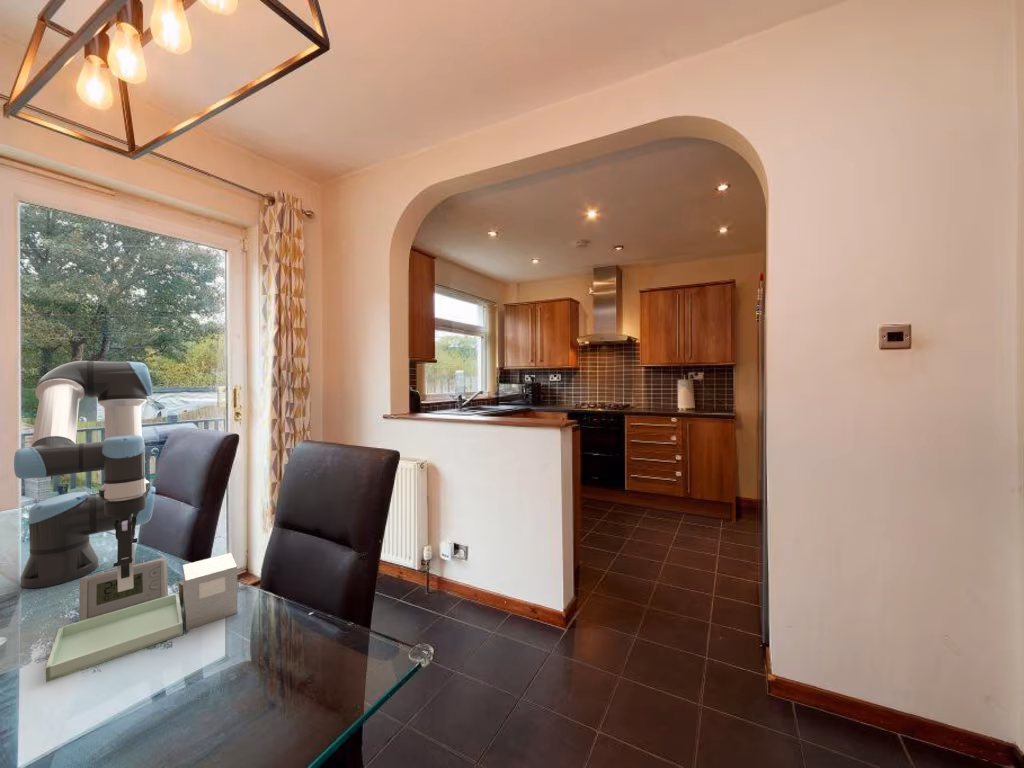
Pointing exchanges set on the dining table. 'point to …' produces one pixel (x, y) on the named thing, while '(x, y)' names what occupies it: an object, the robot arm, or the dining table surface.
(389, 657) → the dining table surface
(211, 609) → the light grey labelled box
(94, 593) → the digital clock
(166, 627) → the tray
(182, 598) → the walnut block
